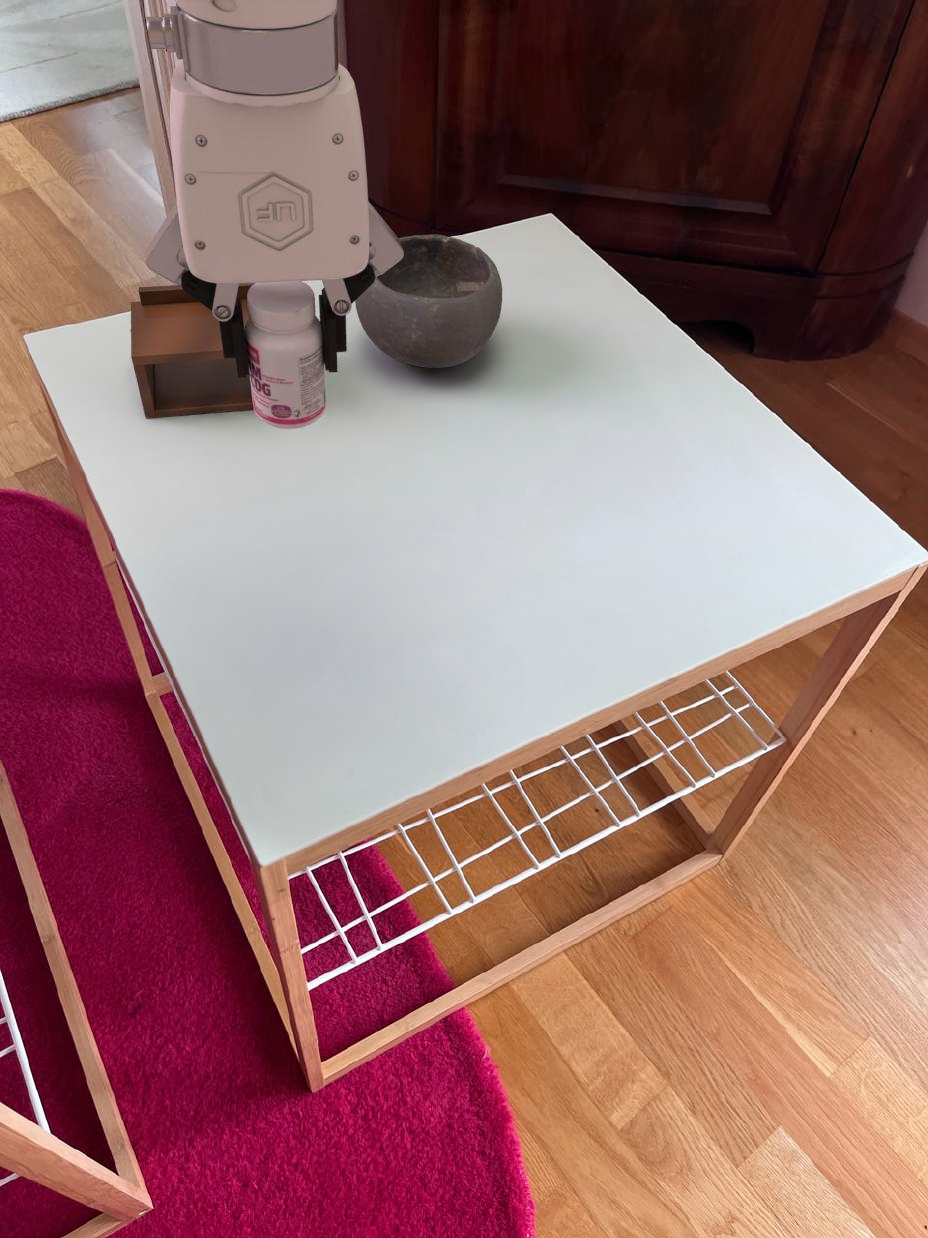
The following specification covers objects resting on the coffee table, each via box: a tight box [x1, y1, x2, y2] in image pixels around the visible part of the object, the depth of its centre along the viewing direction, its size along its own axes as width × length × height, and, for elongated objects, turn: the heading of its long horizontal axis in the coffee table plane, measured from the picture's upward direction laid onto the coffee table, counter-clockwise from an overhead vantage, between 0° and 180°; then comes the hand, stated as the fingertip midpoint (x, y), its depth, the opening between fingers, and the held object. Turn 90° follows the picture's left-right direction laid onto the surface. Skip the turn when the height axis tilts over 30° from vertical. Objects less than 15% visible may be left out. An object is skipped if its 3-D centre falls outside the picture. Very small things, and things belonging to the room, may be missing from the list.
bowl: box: [354, 234, 503, 369], centre depth 97 cm, size 15×15×10 cm
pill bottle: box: [245, 281, 327, 430], centre depth 60 cm, size 5×5×8 cm
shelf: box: [130, 283, 255, 419], centre depth 92 cm, size 14×9×8 cm, turn 103°
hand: (286, 359), depth 60 cm, fingers closed on pill bottle, 4 cm apart
